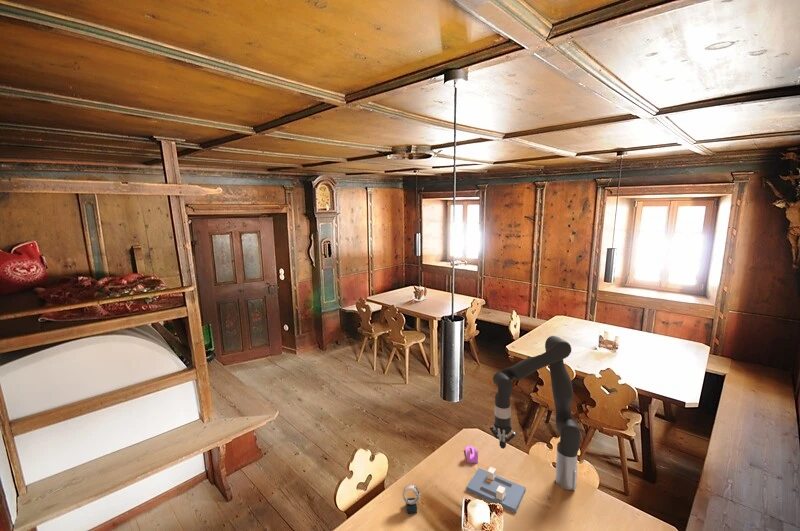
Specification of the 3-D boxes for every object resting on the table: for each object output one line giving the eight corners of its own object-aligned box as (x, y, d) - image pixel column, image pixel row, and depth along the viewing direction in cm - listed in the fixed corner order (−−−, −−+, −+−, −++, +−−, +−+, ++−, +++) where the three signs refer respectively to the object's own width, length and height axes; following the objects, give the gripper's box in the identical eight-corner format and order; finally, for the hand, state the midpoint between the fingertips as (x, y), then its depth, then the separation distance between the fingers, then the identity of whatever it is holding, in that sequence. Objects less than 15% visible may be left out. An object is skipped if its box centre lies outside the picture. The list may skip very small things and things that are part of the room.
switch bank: (525, 491, 169) (525, 487, 169) (515, 513, 156) (515, 509, 156) (479, 471, 183) (479, 467, 182) (466, 490, 170) (466, 486, 169)
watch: (421, 512, 157) (421, 490, 156) (403, 514, 156) (403, 492, 154) (419, 503, 162) (418, 481, 161) (402, 504, 161) (401, 483, 160)
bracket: (477, 463, 189) (477, 451, 188) (467, 462, 190) (467, 451, 189) (474, 448, 202) (474, 437, 201) (464, 447, 203) (464, 436, 202)
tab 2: (505, 495, 163) (505, 487, 163) (502, 500, 160) (502, 493, 160) (498, 492, 165) (499, 485, 165) (496, 497, 162) (496, 490, 161)
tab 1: (495, 475, 176) (496, 469, 176) (493, 480, 173) (493, 473, 173) (490, 473, 178) (490, 466, 177) (487, 478, 175) (487, 471, 174)
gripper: (518, 414, 167) (518, 447, 169) (491, 407, 174) (492, 439, 176) (514, 421, 160) (514, 456, 162) (486, 413, 168) (487, 447, 170)
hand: (502, 447), depth 169 cm, fingers closed
